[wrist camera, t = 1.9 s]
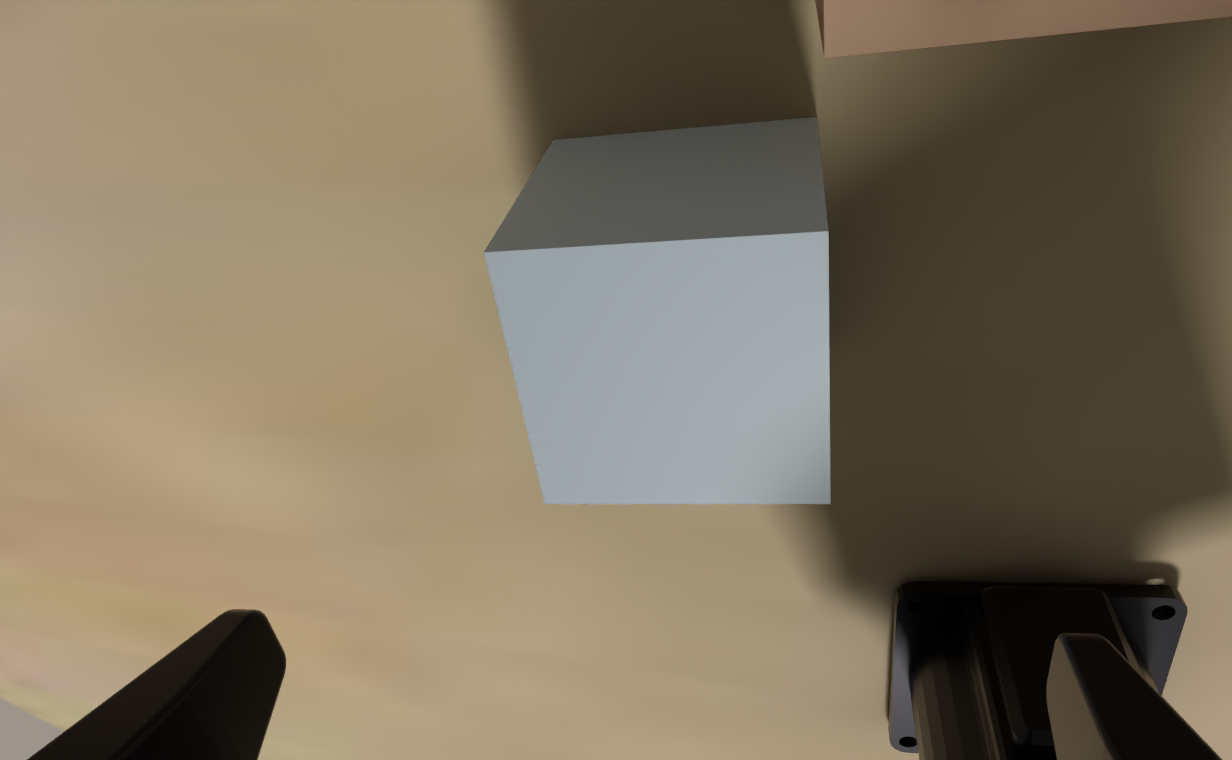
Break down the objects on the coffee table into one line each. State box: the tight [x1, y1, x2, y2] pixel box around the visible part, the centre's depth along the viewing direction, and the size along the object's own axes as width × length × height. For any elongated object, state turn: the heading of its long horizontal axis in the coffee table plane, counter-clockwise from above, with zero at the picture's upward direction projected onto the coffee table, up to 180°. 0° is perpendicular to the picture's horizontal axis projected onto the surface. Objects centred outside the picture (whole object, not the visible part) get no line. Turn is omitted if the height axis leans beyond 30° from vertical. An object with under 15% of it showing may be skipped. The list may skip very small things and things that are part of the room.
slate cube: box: [484, 117, 831, 504], centre depth 16 cm, size 5×5×5 cm
